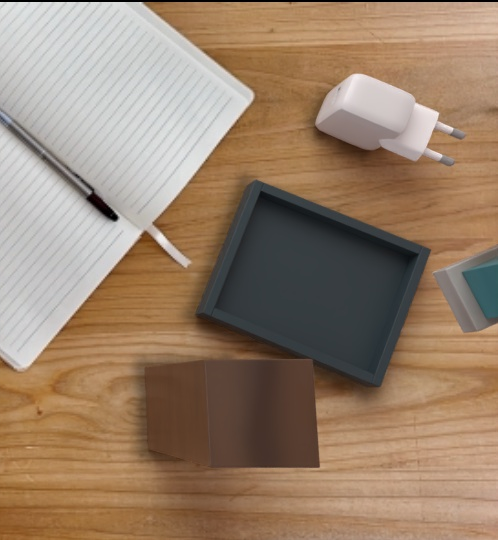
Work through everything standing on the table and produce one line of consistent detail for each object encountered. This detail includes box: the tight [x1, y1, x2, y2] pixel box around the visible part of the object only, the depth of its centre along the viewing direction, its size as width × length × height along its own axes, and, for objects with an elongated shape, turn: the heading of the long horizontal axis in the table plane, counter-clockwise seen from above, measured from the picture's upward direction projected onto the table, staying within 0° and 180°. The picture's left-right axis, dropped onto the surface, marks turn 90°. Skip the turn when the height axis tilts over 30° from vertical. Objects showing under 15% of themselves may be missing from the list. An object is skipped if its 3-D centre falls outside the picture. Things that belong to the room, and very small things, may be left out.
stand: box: [144, 358, 321, 469], centre depth 65 cm, size 7×7×18 cm
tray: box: [194, 179, 432, 388], centre depth 74 cm, size 16×13×2 cm
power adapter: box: [314, 73, 467, 167], centre depth 73 cm, size 11×5×6 cm, turn 65°
